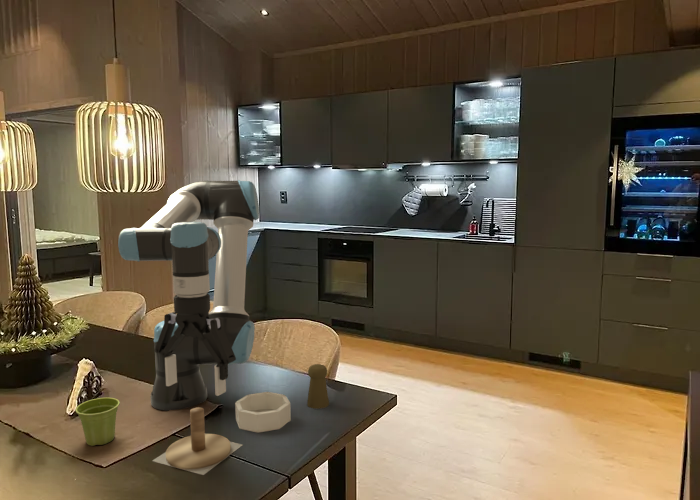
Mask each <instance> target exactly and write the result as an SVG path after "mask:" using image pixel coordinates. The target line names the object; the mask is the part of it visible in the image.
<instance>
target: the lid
mask: <svg viewBox="0 0 700 500" xmlns="http://www.w3.org/2000/svg"><path fill="white" fill-rule="evenodd" d="M189 416H190V417H189V421H190V435H188V436H185V437H182V438H179V439H178V440H176V441H174V442H173V443H171V444H170V445H169V446H168V447H167V449H166V450H165V452H166V460H167V462H168V463H169V464H170V465H171V466H170V467H172V466H174V467H173V468H175V467H176V468H177V469H179V468H181V469H180V470H183V469H199V468H204V467H208V466H211V465H214V464H217V463H219V462H220V461H221V462H223V461H224V460H226V459H227V458H228V457H229V456H230V455H229V453H230V451H231V445H230V442H231V441H230V440H229V439H228V438H227V437H225V436H223V435H221V434H215V433H206V428H205V427H206V426H205V409H204V407H199V406H198V407H193V408H191V409H190V410H189ZM228 455H229V456H228ZM227 456H228V457H227ZM226 457H227V458H226ZM222 460H223V461H222ZM221 462H220V463H221ZM220 463H219V464H220ZM217 465H218V464H217ZM176 468H175V469H176Z"/></svg>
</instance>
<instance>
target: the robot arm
mask: <svg viewBox="0 0 700 500" xmlns="http://www.w3.org/2000/svg"><path fill="white" fill-rule="evenodd" d="M259 203H260V202H259V197H258V192H257V188H256V186H255V184H254V182H252V181H249V180H240V179H238V180H200V181H196V182H193V183H190V184H187V185H184V186H183V187H181V188H179V189H177V190H176V191H175V192H174V193H172V194H171V195H170V196H169V198H168V199H167V201H166V203H165V205H164V206H163V207H162V208H161V209H160V210H159V211H157V212H156V213H155V214H154V215H153V216H152V217H151V218H150V219H149V220H147V221H146V222H145V223H144V224H143V225H142V226H141V227H139V228H137V227H131V228H130V227H129V228H124V229H122V230H121V231H120V232H119V235H118V241H117V242H118V244H117V247H118V252H119V253H118V254H119V255H120V257H121V258H122V259H123V260H125V261H133V262H151V261H152V262H155V261H156V262H160V261H161V262H162V261H164V262H166V261H171V264H172V265H171V266H172V287H173V294H175V295H174V297H173V309H174V311H173V312H169V313H166V314H164V317H163V319H164V320H162V321H160V322H158V323H157V324H156V325H155V327H154V328H153V329H154V330H153V333H154V334H153V335H154V336H153V343H154V344H153V345H154V347H153V348H154V359H155V360H154V362H155V378H154V383H153V386H152V391H150V392H151V393H150V404H151V407H153V408H154V409H156V410H160V411H166V412H169V411H176V410H183V409H188V408H192V407H195V406H198V405H200V404H203V403H204V402H205V401H206V400H207V398H208V388H207V386H206V384H205V383H204V378H203V375H202V373H201V371H200V370H201V369H200V365H214V389H215V390H214V391H215V392H214V393H215V396H217V397H218V396H220V395H223V394H224V393H226V392H227V383H226V382H227V379H228V378H229V367H228V366H231V365H237V364H239V365H241V364H244V363H246V362H247V361H248V360H249V359H250V357H251V354H252V350H253V347H254V342H255V329H256V328H255V323H254V322H253V321H252V320H250V315H249V314H248V312H246V310H245V298H246V297H245V296H246V275H247V274H246V273H247V260H248V259H247V258H248V257H247V255H248V254H247V253H248V235H249V233H248V232H249V230H251V229H252V228H253V227H254V221H256V220H259V218H260V206H259V205H260V204H259ZM197 220H200V221H201V220H204V221H205V220H206V221H207V220H210V221H212V220H213V222H212V223H213V225H214V226H215V227H216V228H217V229H218V230H216V229H214V228H213V227H210V226H208V225H207V224H206V223H205V222H200V221H197ZM214 257H216V258H215V271H214V273H215V274H214V289H213V290H214V291H213V303H212V304H213V305H212V309H211V295H210V294H209V292H210V291H211V287H210V286H211V285H210V284H211V283H210V271H209V270H210V269H209V267H210V266H209V262H210V261H209V260H210V259H212V258H214Z"/></svg>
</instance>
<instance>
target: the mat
mask: <svg viewBox="0 0 700 500" xmlns="http://www.w3.org/2000/svg"><path fill="white" fill-rule="evenodd" d="M230 445H231V451H230V453H229V455H228V456H227V457H226V458H225V459H227V458H228V457H230V455H232V454H233V453H235V451H237V450H238V449H239V448H241V447H242V446H243V444H241V443H237V442H233V441H230ZM223 461H224V460H222V461H220V462H219V463H217V464H214V465H211V466H208V467H204V468H199V469H181V468H178V469H180V470H184V471H186V472H187V471H188V472H191V473H194V474H197V475H202V476H204V475H206V474H207V473H208V472H210V471H211V470H212V469H214V468H215V467H217V465H219V464H220V463H221V462H223ZM152 462H153V463H158V464H161V465H165V466H168V467H172V468H175V469H176V467H174V466H171V465H170V464H169V463H168V462H167V460H166V451H165V452H163V453H162V454H160V455H159V456H157V457H155V458H154V459H153V460H152Z"/></svg>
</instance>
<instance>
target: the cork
mask: <svg viewBox="0 0 700 500" xmlns="http://www.w3.org/2000/svg"><path fill="white" fill-rule="evenodd" d="M307 371H308V376H309V386H308V387H309V388H308V395H307V404H306V406H307V407H309V408H310V409H314V410H319V409H320V410H321V409H325V408H327V407H329V405H330V400H329V394H328V388H327V387H328V386H327V380H326V379H327V375H328V368H327V366H326V365H324V364H320V363H317V364H311V365H310V366H309V367H308V370H307Z"/></svg>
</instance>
